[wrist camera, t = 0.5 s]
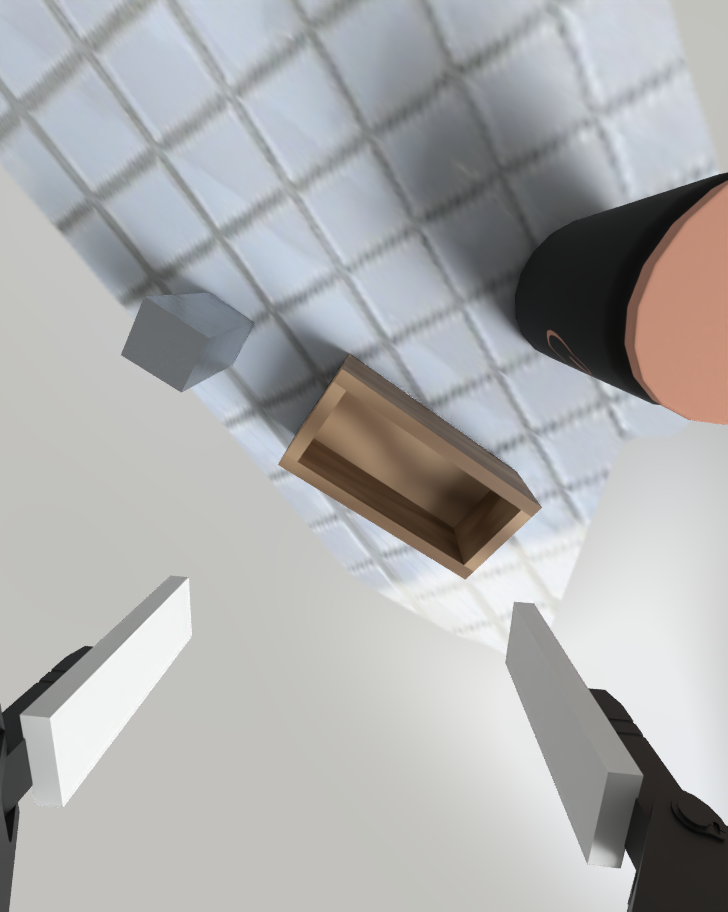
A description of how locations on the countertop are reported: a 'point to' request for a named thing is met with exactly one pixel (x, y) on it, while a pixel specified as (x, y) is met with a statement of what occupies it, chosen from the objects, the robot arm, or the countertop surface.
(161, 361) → the steel bar
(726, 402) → the coffee jar
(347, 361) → the trough
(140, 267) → the countertop surface
